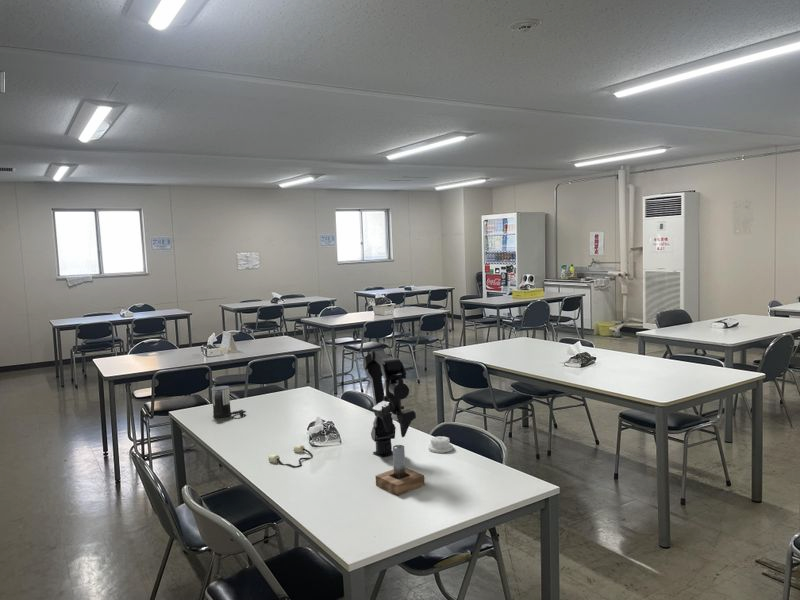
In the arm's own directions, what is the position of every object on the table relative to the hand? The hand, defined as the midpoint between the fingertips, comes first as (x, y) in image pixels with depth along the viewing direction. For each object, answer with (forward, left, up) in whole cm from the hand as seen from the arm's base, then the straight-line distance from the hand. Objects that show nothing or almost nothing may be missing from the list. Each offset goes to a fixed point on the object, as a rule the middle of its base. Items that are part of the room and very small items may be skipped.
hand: (395, 434), depth 215 cm
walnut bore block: (+13, -9, -13) cm, 20 cm away
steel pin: (+13, -9, -12) cm, 20 cm away
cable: (-38, -22, -14) cm, 46 cm away
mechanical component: (-4, +25, -14) cm, 29 cm away
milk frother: (-121, -15, -13) cm, 122 cm away
